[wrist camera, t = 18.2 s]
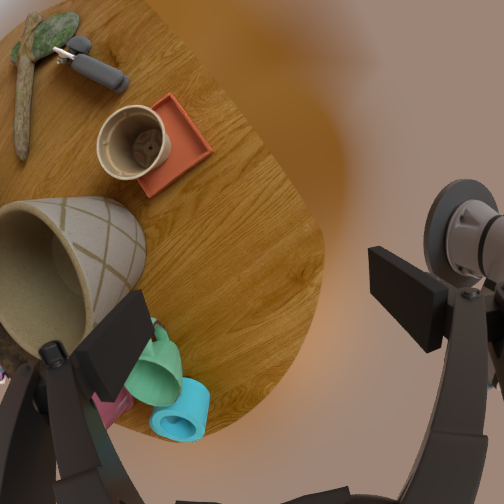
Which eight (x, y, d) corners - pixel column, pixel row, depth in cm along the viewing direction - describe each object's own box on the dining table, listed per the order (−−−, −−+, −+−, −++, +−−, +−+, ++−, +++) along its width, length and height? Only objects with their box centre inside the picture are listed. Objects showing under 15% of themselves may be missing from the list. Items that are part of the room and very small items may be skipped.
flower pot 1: (143, 108, 36) (120, 94, 28) (194, 134, 37) (179, 123, 29) (114, 162, 38) (85, 160, 30) (162, 190, 39) (140, 193, 31)
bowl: (95, 369, 48) (74, 398, 39) (39, 374, 50) (19, 396, 40) (47, 274, 43) (15, 293, 33) (-2, 297, 45) (-28, 313, 35)
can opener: (58, 62, 33) (43, 54, 28) (79, 35, 32) (66, 25, 27) (117, 102, 36) (103, 95, 31) (142, 71, 35) (130, 60, 30)
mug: (194, 373, 48) (185, 410, 38) (145, 368, 48) (128, 401, 38) (187, 302, 44) (172, 333, 35) (132, 299, 44) (107, 327, 35)
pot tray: (173, 95, 36) (170, 91, 34) (214, 152, 39) (212, 150, 37) (116, 141, 38) (110, 139, 36) (153, 197, 40) (148, 198, 38)
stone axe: (14, 161, 34) (-30, 79, 25) (28, 161, 38) (-17, 82, 29) (114, 49, 32) (51, -12, 23) (122, 60, 37) (60, -3, 28)
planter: (173, 219, 41) (112, 254, 22) (134, 318, 45) (81, 390, 26) (78, 171, 39) (-9, 176, 19) (52, 268, 43) (-19, 310, 24)
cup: (191, 421, 52) (184, 452, 43) (152, 401, 50) (140, 432, 41) (218, 392, 49) (214, 425, 40) (175, 369, 48) (163, 401, 39)
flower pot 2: (128, 423, 36) (147, 379, 49) (57, 376, 34) (89, 340, 47) (108, 451, 39) (126, 412, 52) (49, 413, 37) (74, 378, 49)
